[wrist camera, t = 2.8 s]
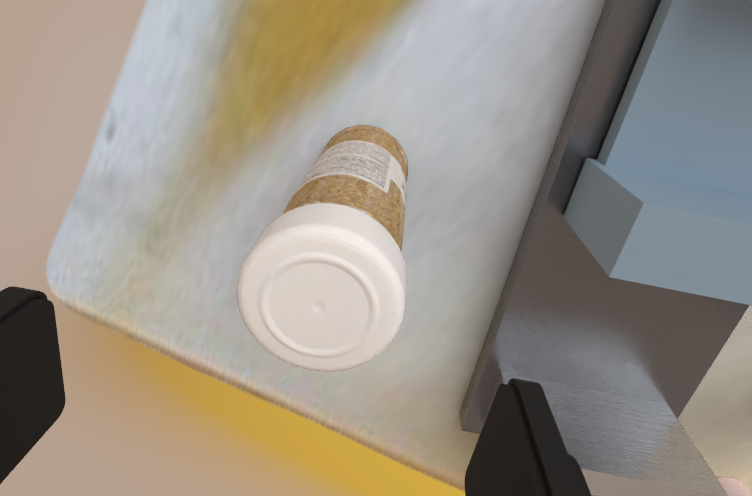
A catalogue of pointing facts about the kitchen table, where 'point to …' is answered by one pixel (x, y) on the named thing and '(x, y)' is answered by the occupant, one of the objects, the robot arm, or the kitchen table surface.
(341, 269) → the spice jar
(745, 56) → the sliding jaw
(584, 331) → the clamp base
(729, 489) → the smoothie
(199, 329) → the kitchen table surface
